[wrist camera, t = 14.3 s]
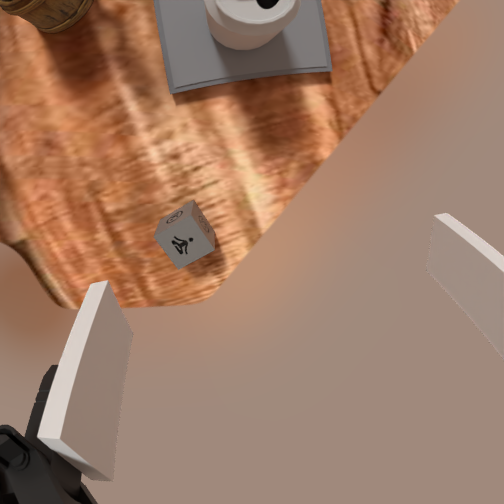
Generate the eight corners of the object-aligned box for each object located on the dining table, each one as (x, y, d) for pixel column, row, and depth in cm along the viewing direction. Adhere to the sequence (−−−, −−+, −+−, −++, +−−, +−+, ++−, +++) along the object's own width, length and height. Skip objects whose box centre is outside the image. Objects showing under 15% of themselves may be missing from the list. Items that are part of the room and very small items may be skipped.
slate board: (172, 94, 32) (169, 94, 31) (153, -13, 25) (150, -17, 24) (328, 71, 32) (332, 71, 31) (309, -32, 26) (313, -36, 24)
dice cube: (160, 219, 39) (153, 236, 35) (193, 199, 39) (191, 214, 34) (182, 249, 42) (178, 269, 37) (214, 231, 41) (214, 250, 36)
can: (270, 57, 30) (297, 42, 19) (200, 45, 28) (193, 24, 18) (283, -2, 26) (314, -38, 16) (214, -14, 25) (214, -58, 14)
